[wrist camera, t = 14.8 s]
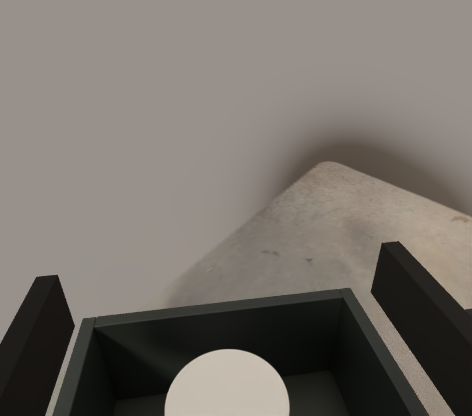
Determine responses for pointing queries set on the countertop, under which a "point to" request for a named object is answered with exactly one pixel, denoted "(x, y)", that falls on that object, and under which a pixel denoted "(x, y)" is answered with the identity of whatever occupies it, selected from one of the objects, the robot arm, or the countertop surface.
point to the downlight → (227, 387)
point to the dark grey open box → (246, 339)
